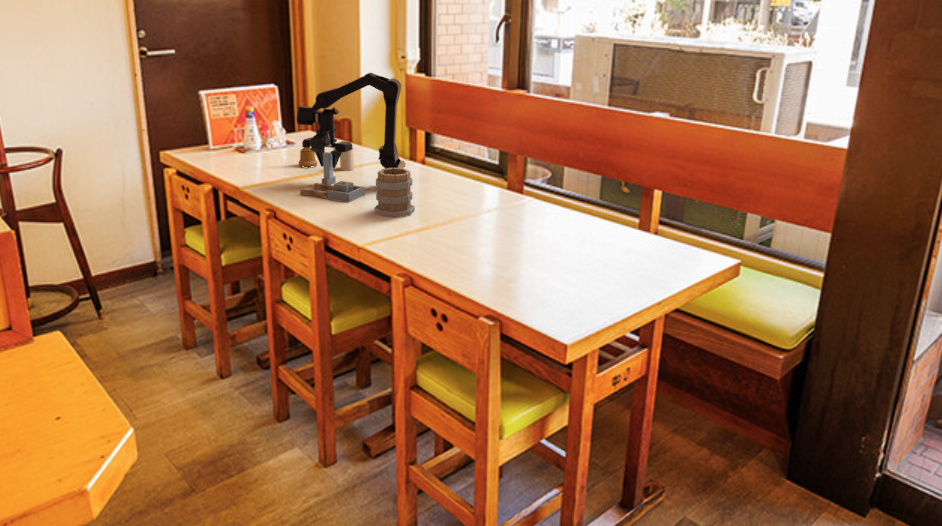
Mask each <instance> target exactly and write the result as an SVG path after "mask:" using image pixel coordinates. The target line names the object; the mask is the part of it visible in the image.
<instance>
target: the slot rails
mask: <svg viewBox="0 0 942 526" xmlns="http://www.w3.org/2000/svg"><path fill="white" fill-rule="evenodd" d="M318 189H321V190H318ZM324 190H326V191H324ZM328 190H332V191H334V184H332V185H328V184H322V182H321V183H320V182H314V183H313V189H311V188H305V187H302V188H300V195H301V194H303V195H302V196H307V195H310V196H309V197H313V196H316V197H315V198H320V197H321V199H327V191H328Z"/></svg>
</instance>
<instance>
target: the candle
mask: <svg viewBox="0 0 942 526" xmlns="http://www.w3.org/2000/svg"><path fill="white" fill-rule="evenodd" d="M354 152H355V151H354V148H353V149H352V150H350V151H347V152H342V154H341V155H340V157H339V162H340V163H339V164H340V171H344V170H345V171H346V170H347V171H346V172H348V171H354V170H355V158H354V156H355V153H354Z"/></svg>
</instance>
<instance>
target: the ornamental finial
mask: <svg viewBox="0 0 942 526" xmlns="http://www.w3.org/2000/svg"><path fill="white" fill-rule="evenodd" d="M310 149H311V146H310V148H306V147H302V148H301V150H299V151H300V152H299V154H300V155H299V158H300V159H299V161H298V166H299V165H300V166H304V167H311V166H315V167H316V166H317V165H318V162H317V160H316V154H315V152H313V151H312V150H310ZM300 166H299V167H300Z"/></svg>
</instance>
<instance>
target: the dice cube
mask: <svg viewBox="0 0 942 526" xmlns="http://www.w3.org/2000/svg"><path fill="white" fill-rule="evenodd" d="M333 185H334V191H339V192H345V193H349V192H351V191H353V185H354V182H352V181H345V180H343V181H342V180H340V181H338V182H336V183H334V184H333Z"/></svg>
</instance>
